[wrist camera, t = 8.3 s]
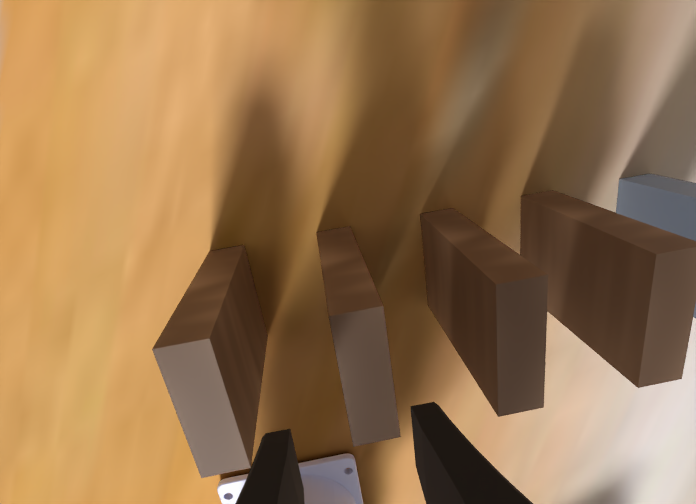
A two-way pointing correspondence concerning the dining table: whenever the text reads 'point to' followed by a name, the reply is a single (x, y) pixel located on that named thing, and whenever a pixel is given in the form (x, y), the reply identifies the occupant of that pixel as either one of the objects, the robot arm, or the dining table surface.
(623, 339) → the domino
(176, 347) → the domino
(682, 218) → the domino
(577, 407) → the dining table surface
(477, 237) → the domino
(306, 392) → the dining table surface
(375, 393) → the domino
